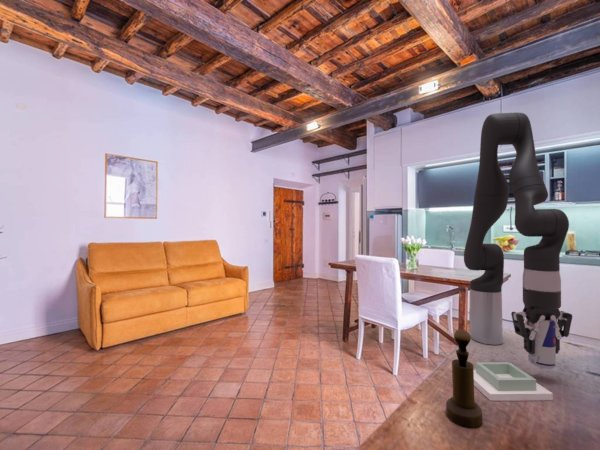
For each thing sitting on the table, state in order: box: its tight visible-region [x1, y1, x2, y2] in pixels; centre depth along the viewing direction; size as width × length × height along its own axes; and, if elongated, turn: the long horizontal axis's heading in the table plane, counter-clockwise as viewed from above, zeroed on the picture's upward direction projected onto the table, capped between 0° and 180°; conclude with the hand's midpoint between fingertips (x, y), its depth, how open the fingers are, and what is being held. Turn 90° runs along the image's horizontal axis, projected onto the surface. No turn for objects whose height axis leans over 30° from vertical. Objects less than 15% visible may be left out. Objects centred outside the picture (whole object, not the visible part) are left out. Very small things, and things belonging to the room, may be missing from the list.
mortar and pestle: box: [445, 329, 483, 429], centre depth 59 cm, size 7×6×18 cm
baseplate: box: [474, 361, 554, 402], centre depth 70 cm, size 11×14×4 cm
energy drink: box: [527, 320, 557, 370], centre depth 73 cm, size 5×5×12 cm
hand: (541, 352), depth 74 cm, fingers closed on energy drink, 5 cm apart
